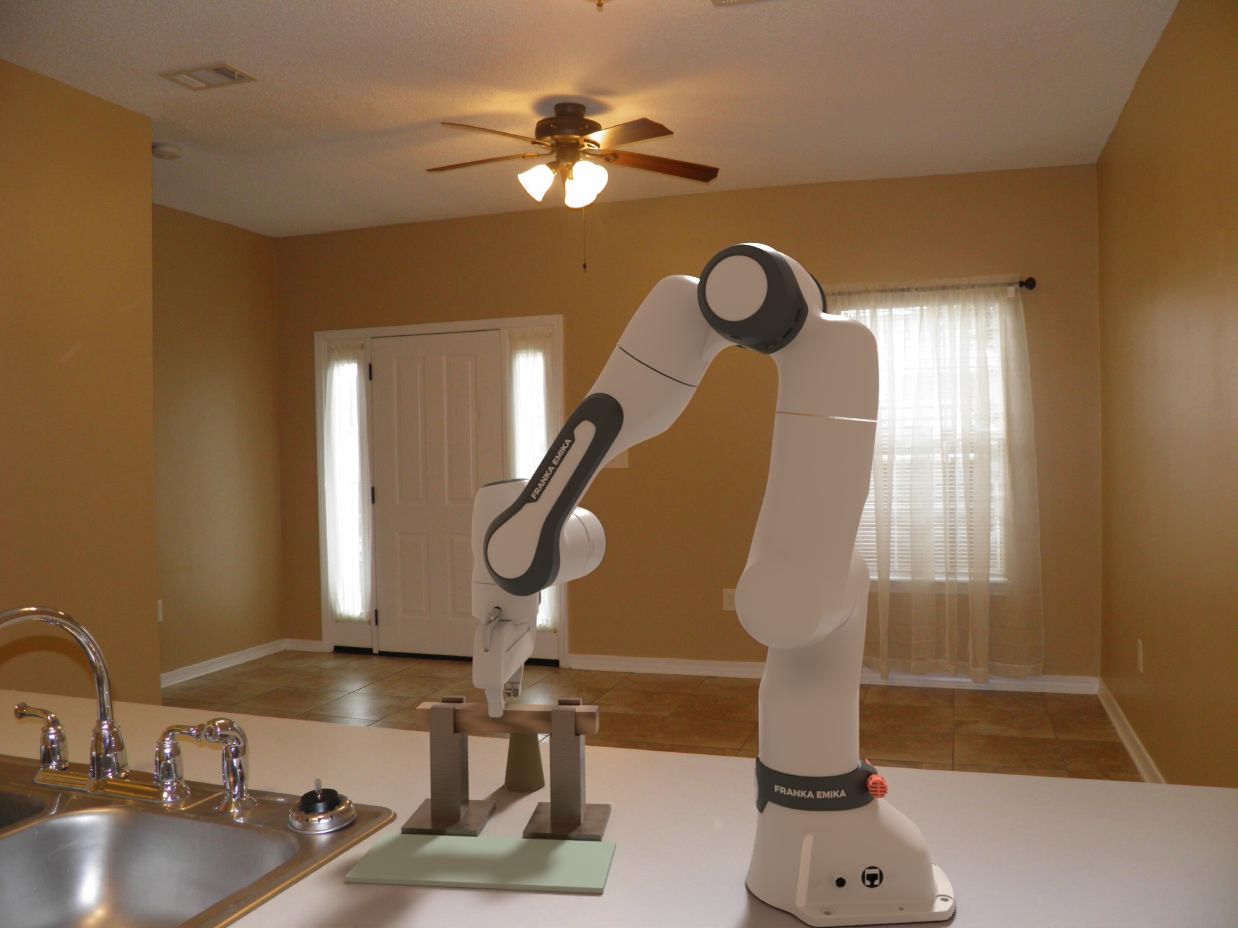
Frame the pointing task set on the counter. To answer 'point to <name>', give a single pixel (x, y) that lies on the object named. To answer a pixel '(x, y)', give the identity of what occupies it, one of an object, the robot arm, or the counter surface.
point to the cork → (524, 763)
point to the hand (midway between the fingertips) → (505, 705)
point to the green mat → (486, 863)
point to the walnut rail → (510, 718)
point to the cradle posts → (468, 817)
